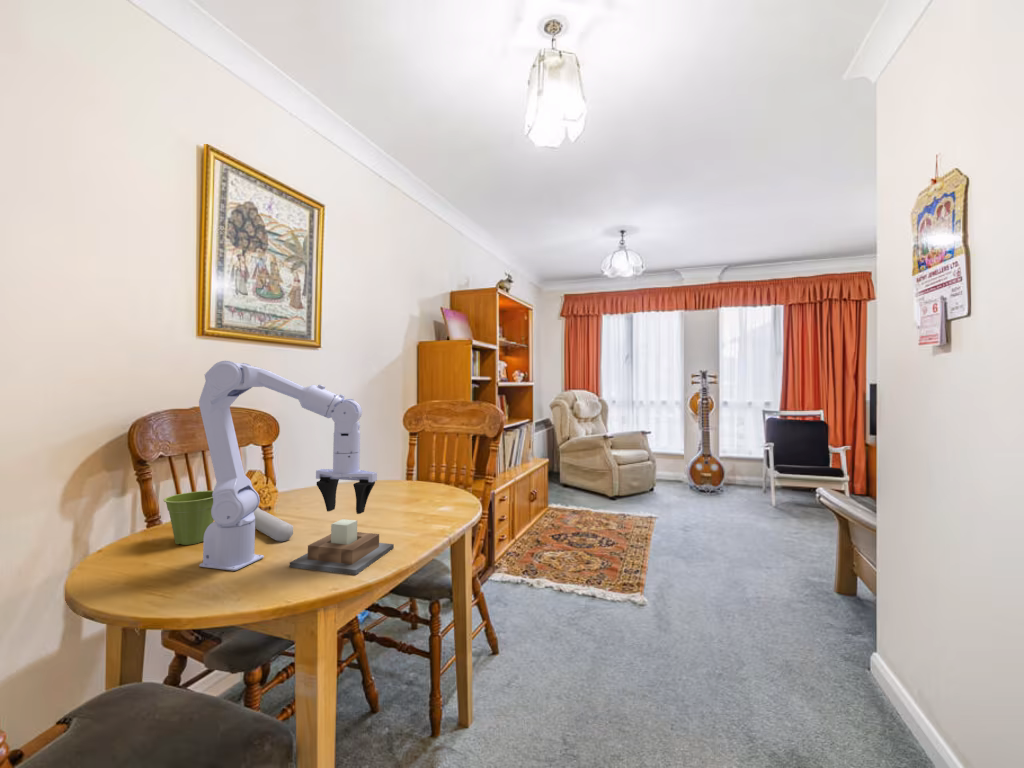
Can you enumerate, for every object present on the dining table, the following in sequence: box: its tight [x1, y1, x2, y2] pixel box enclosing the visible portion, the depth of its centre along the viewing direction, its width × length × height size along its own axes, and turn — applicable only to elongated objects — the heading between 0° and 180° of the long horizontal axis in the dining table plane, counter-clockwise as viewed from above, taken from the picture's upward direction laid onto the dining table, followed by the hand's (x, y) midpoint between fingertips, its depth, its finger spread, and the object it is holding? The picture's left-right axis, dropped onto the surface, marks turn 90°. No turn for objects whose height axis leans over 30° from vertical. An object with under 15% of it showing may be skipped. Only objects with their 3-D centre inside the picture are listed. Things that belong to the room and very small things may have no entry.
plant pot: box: [163, 490, 215, 546], centre depth 110 cm, size 12×12×11 cm
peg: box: [330, 518, 358, 545], centre depth 100 cm, size 4×4×7 cm
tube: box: [254, 506, 294, 543], centre depth 118 cm, size 5×5×25 cm
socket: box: [289, 531, 395, 576], centre depth 100 cm, size 16×16×4 cm
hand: (345, 511), depth 101 cm, fingers open, 7 cm apart
